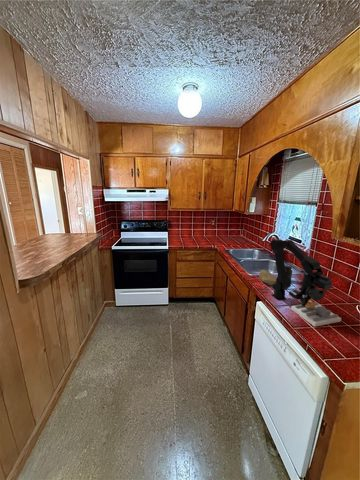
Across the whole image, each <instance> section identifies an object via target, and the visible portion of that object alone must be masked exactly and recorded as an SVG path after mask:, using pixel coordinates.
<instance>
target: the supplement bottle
mask: <svg viewBox="0 0 360 480" xmlns="http://www.w3.org/2000/svg"><path fill="white" fill-rule="evenodd" d="M292 268H293V267H292V265H289V264H285V270H286V275H287V276H288V277H290V278H291V279H292V277H293V269H292Z"/></svg>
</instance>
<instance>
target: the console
mask: <svg viewBox="0 0 360 480" xmlns="http://www.w3.org/2000/svg"><path fill="white" fill-rule="evenodd" d="M313 302H314V303H315V308H311V309H309V308H308V309H307V308H306V307H305V306H302V303H300V304H294V305H291V307H290V308H291V310H292V311H293V312H294V313H296V314H297V315H298V314H299V315H298V316H299V317H301V318H302V319H304V320H305V321H306V322H308V323H309V324H310V325H312V326H313V327H314V328H315V327H319V326H325V325H330V324H335V323H340V322H342V317H340V316H339V314H336V313H333V312H332V311H331V309H328V310H329V311H331V312H330V316H327V317H321V316H320V315H319V314H318V313H317V312H316V307H321V306H322V307H324V308H326V307H325V306H323V305H321V304H320V303H319V302H317V301H313Z"/></svg>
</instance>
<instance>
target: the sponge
mask: <svg viewBox="0 0 360 480" xmlns="http://www.w3.org/2000/svg"><path fill="white" fill-rule="evenodd" d="M258 275H259V276H258V277H259V279H260V280H261V281H262V282H263V283H265V284H268V285H269V286H271V287H272V285H274V284H276V279H277V276H274V275H273V274H272V273H271V272H269V270H266V269H261V270H260V271H259V273H258Z"/></svg>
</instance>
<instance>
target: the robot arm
mask: <svg viewBox="0 0 360 480" xmlns="http://www.w3.org/2000/svg"><path fill="white" fill-rule="evenodd" d="M269 246H270V249H271V251H272V252H273V254H274V259H275V265H276V271H277V272H276V273H277V276H276V284H274V285H272V286H271V287H272V289H273V294H271V297H273V298H274V299H276V300H277V301H283V300H287V297H286V290H288V289H289V288H290V287H292V278H290V277H288V276H287V275H286V270H285V265H286V264H285V259H284V251H285V249H286V248H287V249H288V250H289V252H290V253H291V254H292V255H294V256H295V258H296V259H298V260H299V263H300V266H301V267H302V268H303V269H302V270H300V272H301V273H302V274H303V276H302V277H303V278H302V280H301V281H300V284H301V285H300V286H301V287H299V289H298V290H299V291H298V290H297V289H291V290H288V291H289V292H288V295H289V296H290V297H292V298H294V299H295V300H300V304H302V306H305V305H306V304H307V302H308V301H309V300H311V299H312V301H313V302H317V301H321V300H322V299H323V298H325V296H326V291H329V290H330V289H331V287H332V286H333V283H332V282H333V281H332V280H331V279H332V278H331V277H328V276H325V275H324V272H323V270H322V267H321V263H320V262H319V261H318V260H316V259H315V258H313V257H311V256H309V255H308V254H307V253H306V252H304V251H303V250H302V249H301V248H300V247H299V246H298V245H297V244H296V243H295V242H294V241H293V240H292V239H289V240H287V239H286V240H284V239H281V238H279V239H272V240H271V241H270V242H269ZM321 289H322V290H321Z"/></svg>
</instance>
